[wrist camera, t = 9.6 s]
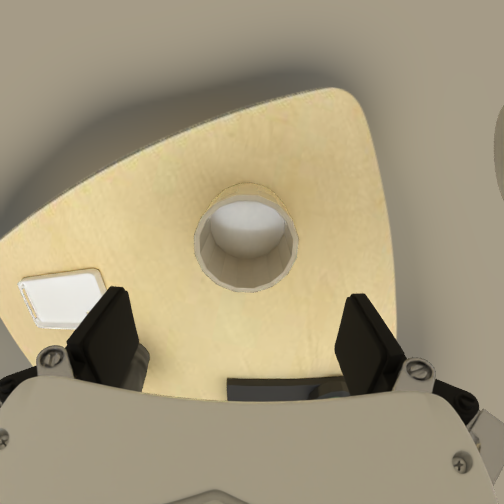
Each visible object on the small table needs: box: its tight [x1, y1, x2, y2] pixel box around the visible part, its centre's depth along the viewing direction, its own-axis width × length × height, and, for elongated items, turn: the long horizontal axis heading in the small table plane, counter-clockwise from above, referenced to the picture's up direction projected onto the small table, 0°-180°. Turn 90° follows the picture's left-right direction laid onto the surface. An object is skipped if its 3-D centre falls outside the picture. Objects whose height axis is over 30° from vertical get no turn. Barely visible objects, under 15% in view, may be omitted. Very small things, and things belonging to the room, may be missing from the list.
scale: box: [227, 376, 350, 402], centre depth 33 cm, size 16×14×3 cm
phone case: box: [18, 269, 106, 329], centre depth 27 cm, size 7×1×15 cm
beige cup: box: [194, 183, 299, 293], centre depth 22 cm, size 7×7×6 cm
